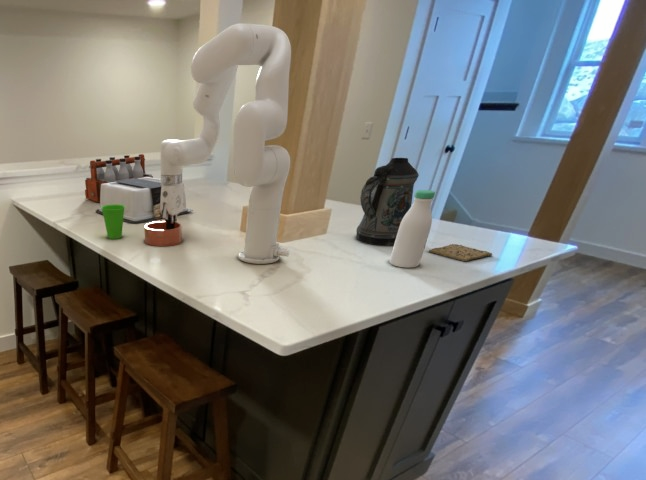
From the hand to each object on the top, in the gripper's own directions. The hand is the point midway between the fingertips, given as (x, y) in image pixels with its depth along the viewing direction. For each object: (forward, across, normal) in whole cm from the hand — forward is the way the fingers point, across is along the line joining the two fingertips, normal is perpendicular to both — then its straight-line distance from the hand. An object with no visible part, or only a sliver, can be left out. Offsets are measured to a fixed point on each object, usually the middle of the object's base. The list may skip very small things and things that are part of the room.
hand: (171, 233), depth 166 cm
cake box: (+1, +33, +32) cm, 46 cm away
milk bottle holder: (+1, +60, +61) cm, 86 cm away
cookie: (+2, +16, -91) cm, 93 cm away
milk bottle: (+2, -1, -77) cm, 77 cm away
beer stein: (+2, +23, -68) cm, 72 cm away
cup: (+2, -9, +20) cm, 22 cm away
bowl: (+1, -6, 0) cm, 6 cm away
